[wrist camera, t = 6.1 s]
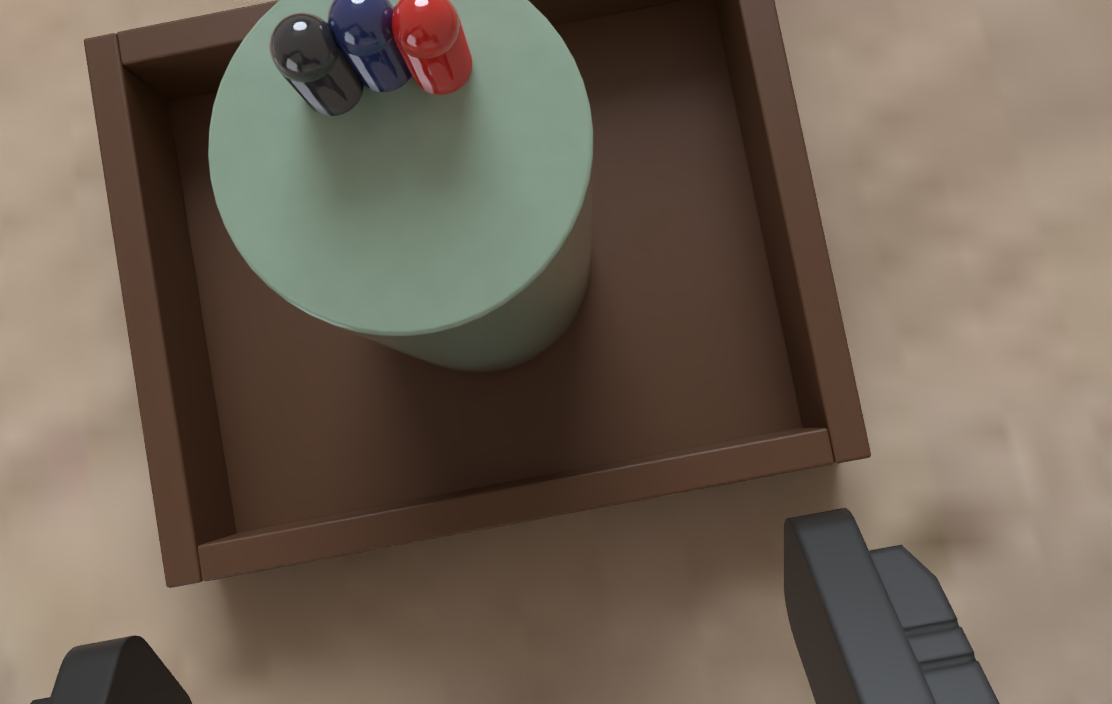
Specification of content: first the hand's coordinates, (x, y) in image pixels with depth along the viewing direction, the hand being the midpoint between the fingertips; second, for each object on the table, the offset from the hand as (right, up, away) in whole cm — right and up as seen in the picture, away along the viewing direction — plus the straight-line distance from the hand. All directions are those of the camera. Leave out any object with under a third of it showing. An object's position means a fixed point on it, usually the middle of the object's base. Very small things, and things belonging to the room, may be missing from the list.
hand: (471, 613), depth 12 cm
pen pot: (-1, +5, +12) cm, 13 cm away
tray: (-1, +5, +12) cm, 13 cm away
